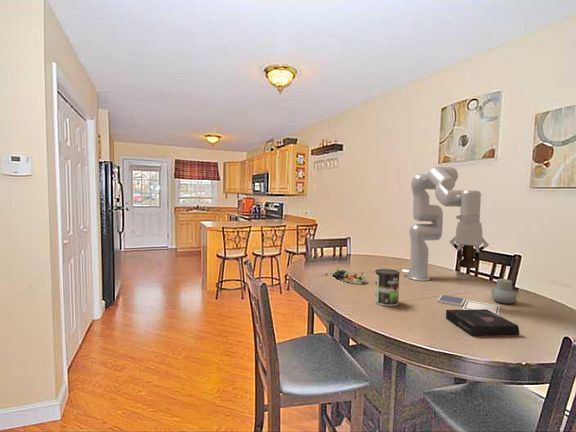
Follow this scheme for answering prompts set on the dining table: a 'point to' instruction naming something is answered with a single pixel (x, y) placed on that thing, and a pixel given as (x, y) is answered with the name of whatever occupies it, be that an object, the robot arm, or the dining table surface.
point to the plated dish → (349, 277)
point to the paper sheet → (481, 306)
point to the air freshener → (504, 292)
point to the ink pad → (451, 300)
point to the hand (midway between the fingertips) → (467, 259)
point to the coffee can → (387, 287)
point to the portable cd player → (482, 323)
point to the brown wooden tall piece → (468, 258)
